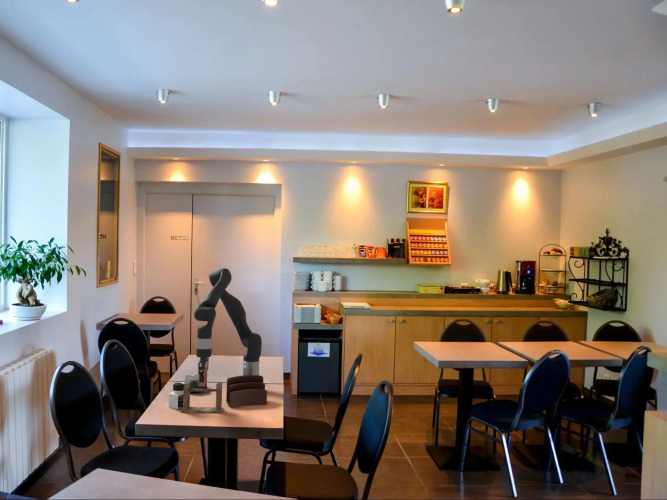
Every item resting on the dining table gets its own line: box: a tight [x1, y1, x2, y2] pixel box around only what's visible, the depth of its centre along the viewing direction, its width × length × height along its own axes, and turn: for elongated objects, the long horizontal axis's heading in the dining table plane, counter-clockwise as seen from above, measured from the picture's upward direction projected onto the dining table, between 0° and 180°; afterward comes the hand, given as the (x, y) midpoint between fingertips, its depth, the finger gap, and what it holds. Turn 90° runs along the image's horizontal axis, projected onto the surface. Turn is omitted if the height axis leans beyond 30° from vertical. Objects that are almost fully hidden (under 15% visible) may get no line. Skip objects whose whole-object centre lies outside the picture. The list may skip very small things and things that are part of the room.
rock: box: [184, 373, 208, 394], centre depth 293 cm, size 18×11×8 cm, turn 26°
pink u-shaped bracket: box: [198, 369, 208, 386], centre depth 256 cm, size 3×6×7 cm, turn 2°
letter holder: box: [225, 374, 268, 408], centre depth 271 cm, size 10×20×14 cm, turn 112°
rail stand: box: [180, 381, 225, 414], centre depth 256 cm, size 20×6×14 cm, turn 92°
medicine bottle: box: [168, 381, 185, 410], centre depth 262 cm, size 7×7×12 cm
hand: (203, 380), depth 257 cm, fingers closed on pink u-shaped bracket, 5 cm apart
